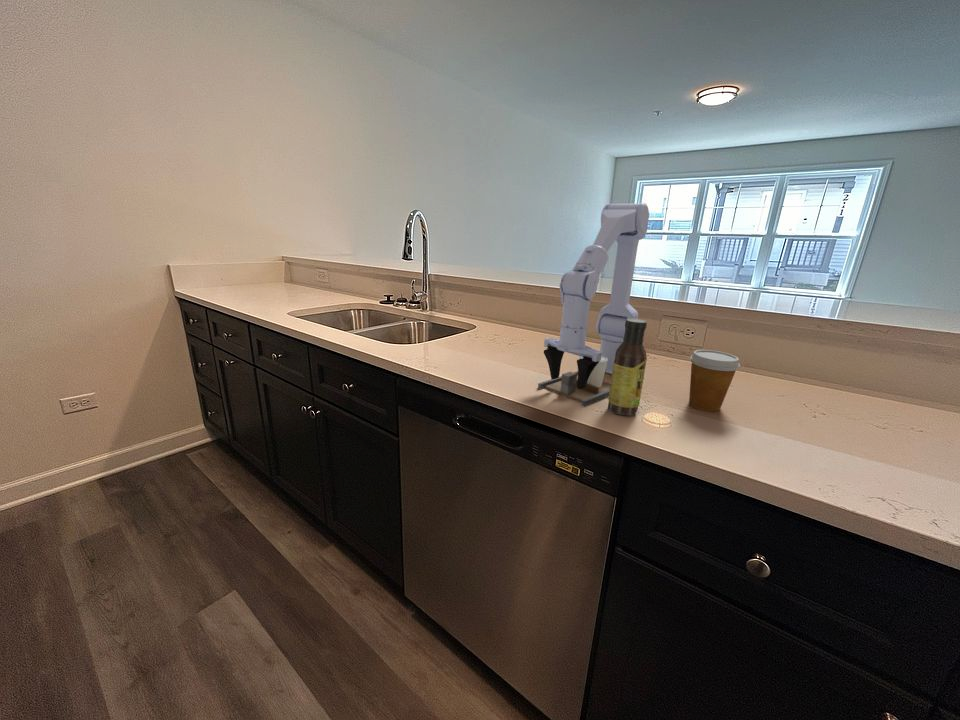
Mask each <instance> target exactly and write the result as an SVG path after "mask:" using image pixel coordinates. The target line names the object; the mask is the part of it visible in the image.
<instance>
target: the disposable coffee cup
mask: <svg viewBox="0 0 960 720" xmlns="http://www.w3.org/2000/svg"><path fill="white" fill-rule="evenodd" d="M689 358H690V359H689V360H690V362H691V368H690V380H689V381H690V383H689V397H688V398H689V399H688V404H689V405H690V406H691V407H693V408H695V409H697V410H700V411H706V412H719V411H720V410H721V408H722V406H723V402H724V400H725V398H726V395H727V393H728V391H729V387H730V386H731V385H732V381H733V378H734V376H735V373H736V371H737V370H738V368H740V366H741V364H740V362H739V361H740V359H739V357H737V356H736V355H734V354H731V353H728V352H723V351H719V350H713V349H712V350H711V349H697V350H694V351H693V353H692V355H690V357H689Z"/></svg>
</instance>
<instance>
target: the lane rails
mask: <svg viewBox="0 0 960 720" xmlns="http://www.w3.org/2000/svg"><path fill="white" fill-rule="evenodd" d="M572 372H573V371H572ZM573 373H576V374H577V375H578V370H577V371H574V372H573ZM559 381H562V375H561V376H560V375H559V378H556V379H551V378H550V379H548V380H545V381H542V382H538V383H537V388H538V389H540V390H541V389H544V388H545V387H546V386H547V385H550V384H553V383H556V382H559ZM545 389H546V388H545ZM609 392H610V389H609V390H606V391H604V392H601V393H599V394H596V395H594V396H591V397H589V398H586V399H584V400H582V401H581V402H580V406H581V407H586V406H589V405H591V404H593V403H596V402H598V401H600V400H603V399H605V398H609Z"/></svg>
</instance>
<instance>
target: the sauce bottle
mask: <svg viewBox="0 0 960 720" xmlns="http://www.w3.org/2000/svg"><path fill="white" fill-rule="evenodd" d="M647 323H648V322H647V321H646V320H643V319H639V318H638V319H627V320H626V322H625V335H624V338H623V343H622V344H621V345H620V346H619V348H618V349H617V350H616V355H615V361H614V365H613V372H612V374H611V379H610V383H611V385H610V392H609V396H608V404H607V409H608V410H609V411H610V412H611V413H612V414H615V415H616V414H617V415H621V416H632V415H633V416H634V415H635V414H637V412H638V409H639V405H640V402H641V396H642V391H643V384H644V378H645V370H646V364H647V361H648V360H647V358H648V357H647V352H646V350H645V347H644V344H643V342H644V338H645V337H644V336H645V331H646V328H647Z"/></svg>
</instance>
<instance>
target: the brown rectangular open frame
mask: <svg viewBox="0 0 960 720" xmlns="http://www.w3.org/2000/svg"><path fill="white" fill-rule="evenodd" d="M561 376H562V381H559V382H556V383H553V384H550V385H547V386H546V387H545V389H546V390H549V391H552V392H553V393H557V394H559V395H562V396H564V397H567V398H570V399H571V400H574V401H576V402H579V403H581V401H582V400H584V399H586V398H589V397H591V396H594V395H596V394H599V393H601V392H604V391H606V390H609V389H610V385H611V382H608V381H605V380H603V382H602V386H601V387H597V386H594V385H591V384H588V383H586V386H585V388H582V389H578V388H577V381H578V375H577V374H576V373H573V371H568V372H564V373H562V374H561Z"/></svg>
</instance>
